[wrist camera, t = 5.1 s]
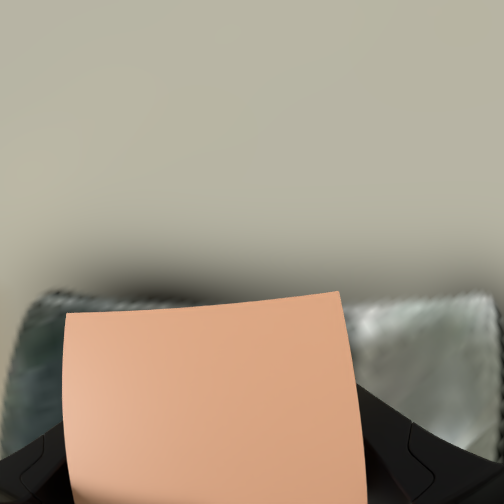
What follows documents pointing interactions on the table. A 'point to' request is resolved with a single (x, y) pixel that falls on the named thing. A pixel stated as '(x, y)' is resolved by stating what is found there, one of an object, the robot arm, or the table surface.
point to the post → (213, 405)
